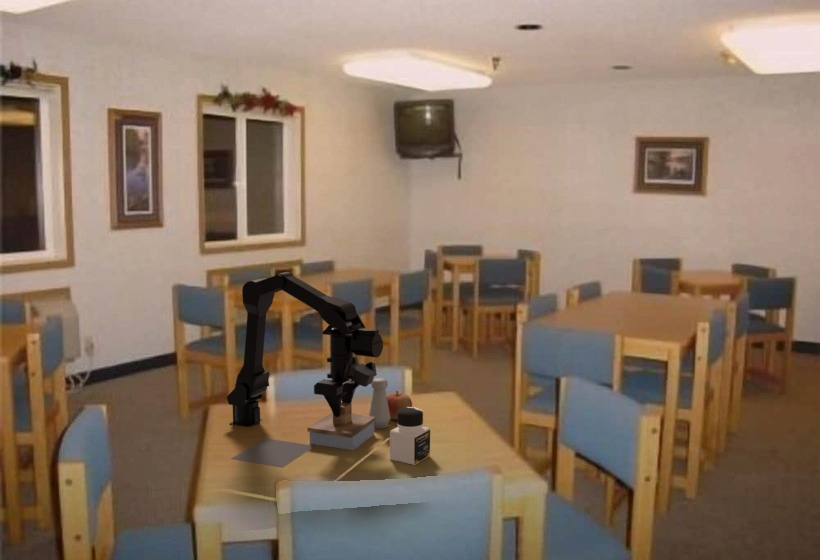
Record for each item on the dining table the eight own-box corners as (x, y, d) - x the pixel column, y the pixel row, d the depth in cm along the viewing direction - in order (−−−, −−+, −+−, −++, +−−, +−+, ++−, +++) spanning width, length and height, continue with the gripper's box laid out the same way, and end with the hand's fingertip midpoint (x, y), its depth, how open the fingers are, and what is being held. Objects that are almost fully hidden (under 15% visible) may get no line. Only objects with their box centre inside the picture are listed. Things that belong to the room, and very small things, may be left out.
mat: (231, 461, 180) (231, 458, 180) (266, 440, 194) (266, 438, 194) (282, 469, 175) (282, 467, 175) (314, 448, 189) (314, 445, 189)
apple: (395, 425, 206) (395, 396, 205) (377, 417, 212) (377, 389, 211) (418, 419, 211) (418, 391, 210) (400, 412, 217) (400, 384, 216)
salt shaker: (387, 430, 202) (387, 382, 200) (366, 429, 203) (366, 381, 201) (392, 423, 207) (392, 376, 205) (371, 422, 208) (371, 375, 207)
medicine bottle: (414, 465, 178) (415, 415, 176) (389, 459, 181) (389, 410, 180) (430, 456, 184) (430, 407, 182) (405, 450, 187) (405, 403, 186)
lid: (307, 431, 189) (307, 409, 188) (334, 414, 202) (333, 394, 201) (351, 437, 184) (351, 415, 184) (375, 420, 197) (375, 399, 196)
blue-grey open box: (309, 445, 190) (309, 430, 190) (332, 430, 201) (332, 416, 201) (353, 452, 186) (353, 436, 185) (373, 436, 197) (373, 421, 196)
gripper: (354, 364, 179) (354, 429, 181) (386, 348, 196) (386, 407, 198) (312, 360, 183) (313, 423, 185) (347, 344, 200) (347, 402, 202)
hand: (342, 413), depth 193 cm, fingers open, 5 cm apart
